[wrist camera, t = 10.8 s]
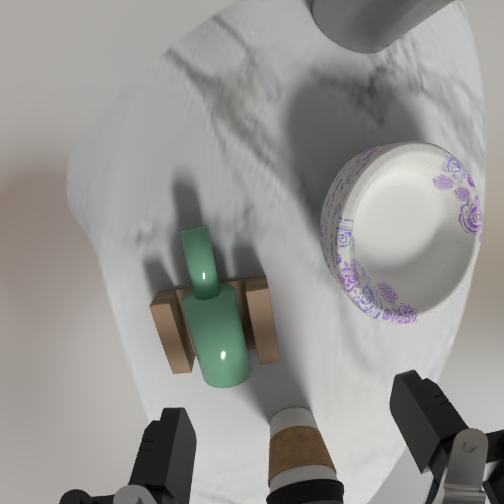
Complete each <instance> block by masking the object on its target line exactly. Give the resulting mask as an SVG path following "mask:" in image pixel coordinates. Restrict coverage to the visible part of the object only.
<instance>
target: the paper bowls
mask: <svg viewBox="0 0 504 504" xmlns="http://www.w3.org/2000/svg"><path fill="white" fill-rule="evenodd" d="M481 235H482V213H481V206H480V201H479V197H478V194H477V191H476V188H475V186H474V183H473V181H472V179H471V177H470V175H469V174H468V172H467V171H466V169H465V168H464V167H463V165H462V164H461V163H460V162H459V161H458V160H457V159H456V158H455V157H454V156H453V155H451V154H450V153H449V152H447V151H446V150H444V149H443V148H441V147H439V146H437V145H434V144H431V143H426V142H423V141H407V142H398V143H389V144H383V145H379V146H375V147H372V148H370V149H368V150H365V151H363V152H361V153H359V154H358V155H356V156H354V157H353V158H352V159H350V160H349V161H348V162H347V163H346V164H345V165H344V167H343V168H342V169H341V170H340V172H339V173H338V174H337V176H336V177H335V179H334V181H333V182H332V184H331V186H330V189H329V191H328V193H327V195H326V198H325V201H324V205H323V208H322V214H321V219H320V242H321V248H322V253H323V256H324V259H325V262H326V264H327V267H328V269H329V271H330V273H331V275H332V277H333V278H334V280H335V281H336V282H337V284H338V285H339V286H340V288H341V289H342V290H343V291H344V293H345V294H346V295H347V296H348V298H349V299H350V300H351V301H352V302H353V303H354V304H355V305H356V306H357V307H358V308H359V309H360V310H361V311H363V312H364V313H366V314H367V315H369V316H371V317H373V318H375V319H377V320H379V321H382V322H387V323H392V324H406V323H412V322H417V321H420V320H423V319H425V318H427V317H429V316H431V315H433V314H435V313H436V312H438V311H439V310H441V309H442V308H443V307H445V306H446V305H447V304H448V303H449V302H450V301H451V300H452V299H453V298H454V297H455V296H456V295H457V294H458V292H459V291H460V290H461V288H462V287H463V286H464V284H465V283H466V281H467V279H468V278H469V275H470V273H471V271H472V269H473V267H474V264H475V261H476V258H477V255H478V252H479V248H480V243H481Z"/></svg>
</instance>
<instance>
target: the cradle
mask: <svg viewBox="0 0 504 504" xmlns="http://www.w3.org/2000/svg"><path fill="white" fill-rule="evenodd" d="M222 283H225V284H230V285H232V286H234V288H235V291H236V296H237V301H238V306H239V311H240V316H241V321H242V326H243V331H244V336H245V341H246V346H247V349H254V348H257V353H258V358H259V363H260V364H265V363H272V362H278V361H280V359H279V353H278V346H277V339H276V333H275V326H274V320H273V313H272V307H271V300H270V294H269V288H268V283H267V278H266V275H265V276H259V277H253V278H247V279H241V280H234V281H228V282H222ZM191 289H193V288H192V287H189V288H183V289H176V290H169V291H162V292H158V293H157V295H156V296H155V298H154V300H153V301H152V303H151V304H150V306H149V307H150V310H151V313H152V316H153V319H154V322H155V325H156V328H157V331H158V334H159V337H160V340H161V342H162V345H163V348H164V351H165V354H166V356H167V359H168V362H169V364H170V367H171V370H172V372H173V374H178V373H191V372H192V368H193V363H194V359H195V356H196V353H195V349H194V346H193V343H192V339H191V336H190V332H189V329H188V325H187V322H186V318H185V315H184V311H183V307H182V304H181V297H182V296H183V295H184V294H185V293H186V292H188V291H190V290H191Z"/></svg>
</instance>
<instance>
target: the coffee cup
mask: <svg viewBox="0 0 504 504" xmlns="http://www.w3.org/2000/svg"><path fill="white" fill-rule="evenodd" d="M336 474H337V473H336V469H335V467H334V464H333V462H332V460H331V457H330V455H329V453H328V450H327V448H326V445H325V443H324V441H323V438H322V436H321V433H320V432H319V429H318V426H317V424H316V421H315V419H314V416H313V414H312V413H311V412H310V411H309V410H307V409H305V408H300V407H292V408H287V409H284V410H281V411H279V412H278V413H276V414H275V415H274V416H273V417H272V419H271V421H270V448H269V476H268V486H269V488H270V494H269V495H268V496H267V498H266V502H267V504H343V494H344V485H343V484H342V483H341V482H340V481H338V479H337V477H336Z"/></svg>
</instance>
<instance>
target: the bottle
mask: <svg viewBox="0 0 504 504" xmlns="http://www.w3.org/2000/svg"><path fill="white" fill-rule="evenodd" d="M180 235H181V240H182V244H183V249H184V254H185V258H186V262H187V267H188V271H189V275H190V280H191V284H192V288H193V289H191V290H190V291H188V292H186V293H185V294H184V295H183V296H182V297H181V304H182V307H183V311H184V315H185V318H186V322H187V325H188V329H189V332H190V336H191V339H192V343H193V346H194V349H195V353H196V356H197V359H198V362H199V365H200V369H201V372H202V375H203V378H204V380H205V382H206V383H207V384H208V385H210V386H213V387H216V388H229V387H233V386H236V385H238V384H240V383H242V382H244V381H245V380H246V379H247V378H248V377H249V375H250V373H251V366H250V361H249V356H248V351H247V346H246V341H245V336H244V331H243V326H242V321H241V316H240V311H239V306H238V301H237V296H236V291H235V288H234V286H232V285H230V284H225V283H219V280H218V275H217V271H216V266H215V261H214V256H213V251H212V246H211V240H210V235H209V230H208V226H207V225H200V226H194V227H190V228H186V229H183V230H181V231H180Z"/></svg>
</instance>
